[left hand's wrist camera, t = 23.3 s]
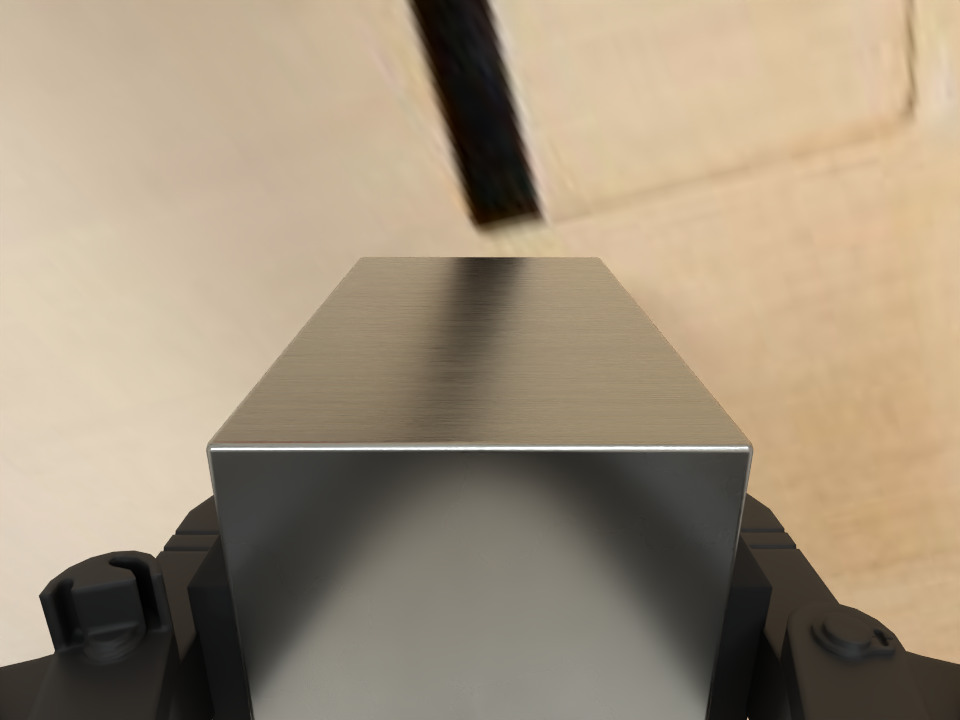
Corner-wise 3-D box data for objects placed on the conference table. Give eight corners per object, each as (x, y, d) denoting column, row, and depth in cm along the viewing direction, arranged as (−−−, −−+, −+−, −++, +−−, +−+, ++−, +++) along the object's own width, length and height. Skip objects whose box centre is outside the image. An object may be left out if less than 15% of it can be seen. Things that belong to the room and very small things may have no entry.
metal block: (582, 518, 18) (680, 901, 9) (376, 518, 18) (278, 901, 9) (600, 256, 15) (757, 445, 7) (359, 256, 15) (202, 444, 7)
